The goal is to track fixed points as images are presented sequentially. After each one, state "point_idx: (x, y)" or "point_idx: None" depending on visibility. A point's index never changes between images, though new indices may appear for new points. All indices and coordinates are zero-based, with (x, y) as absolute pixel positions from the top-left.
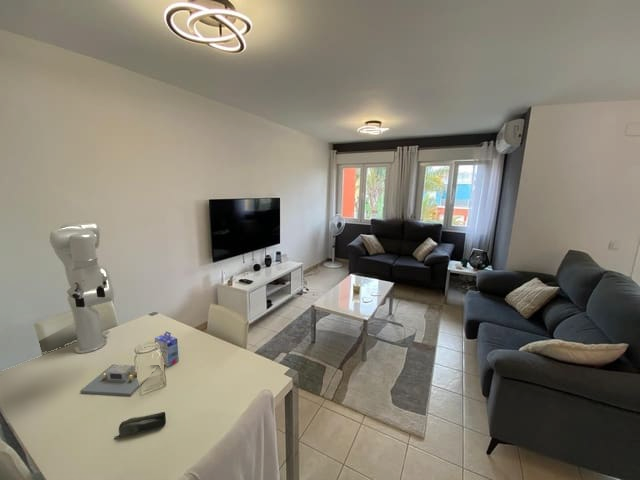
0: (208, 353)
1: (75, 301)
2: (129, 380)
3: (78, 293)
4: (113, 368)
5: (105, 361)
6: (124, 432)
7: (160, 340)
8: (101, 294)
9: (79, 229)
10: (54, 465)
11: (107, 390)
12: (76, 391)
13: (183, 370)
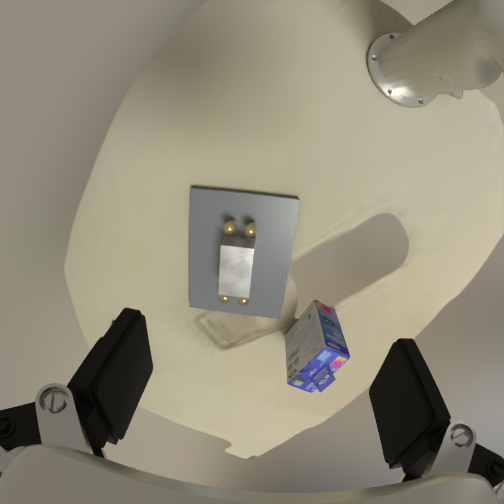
0: None
1: (80, 367)
2: None
3: (92, 454)
4: (235, 255)
5: (326, 158)
6: None
7: (308, 364)
8: (383, 402)
9: None
10: (71, 268)
11: (194, 255)
12: (198, 170)
13: (270, 362)
